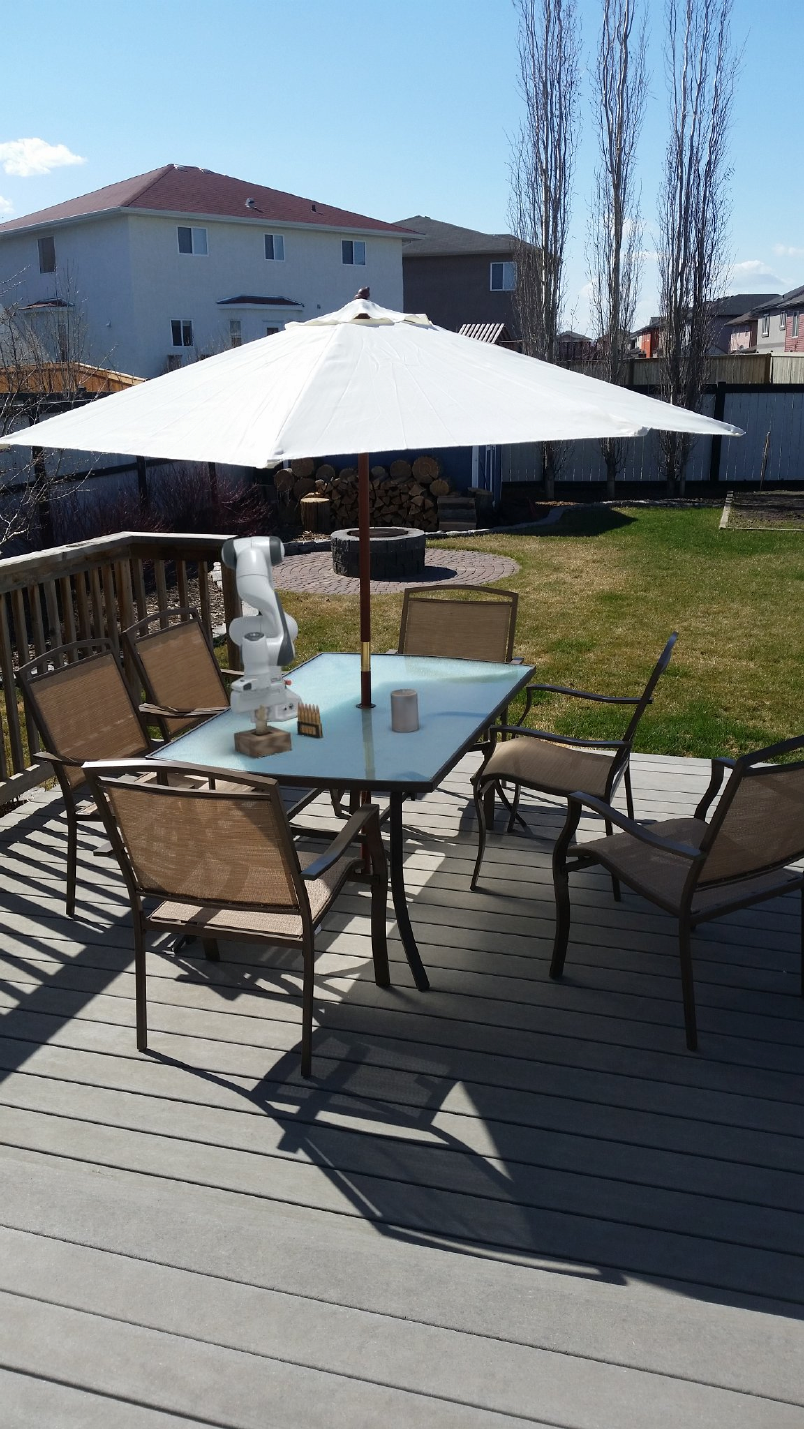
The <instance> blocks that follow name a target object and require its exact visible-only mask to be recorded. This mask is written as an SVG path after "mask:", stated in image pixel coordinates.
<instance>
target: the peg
mask: <svg viewBox="0 0 804 1429" xmlns="http://www.w3.org/2000/svg"><path fill="white" fill-rule="evenodd" d="M254 714H255V717H257V722H256V723H254V726H255V728H256V734H266V733H268V728H267V726H268V721H267V715H266V708H265V705H260V709H257V710H254Z"/></svg>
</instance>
